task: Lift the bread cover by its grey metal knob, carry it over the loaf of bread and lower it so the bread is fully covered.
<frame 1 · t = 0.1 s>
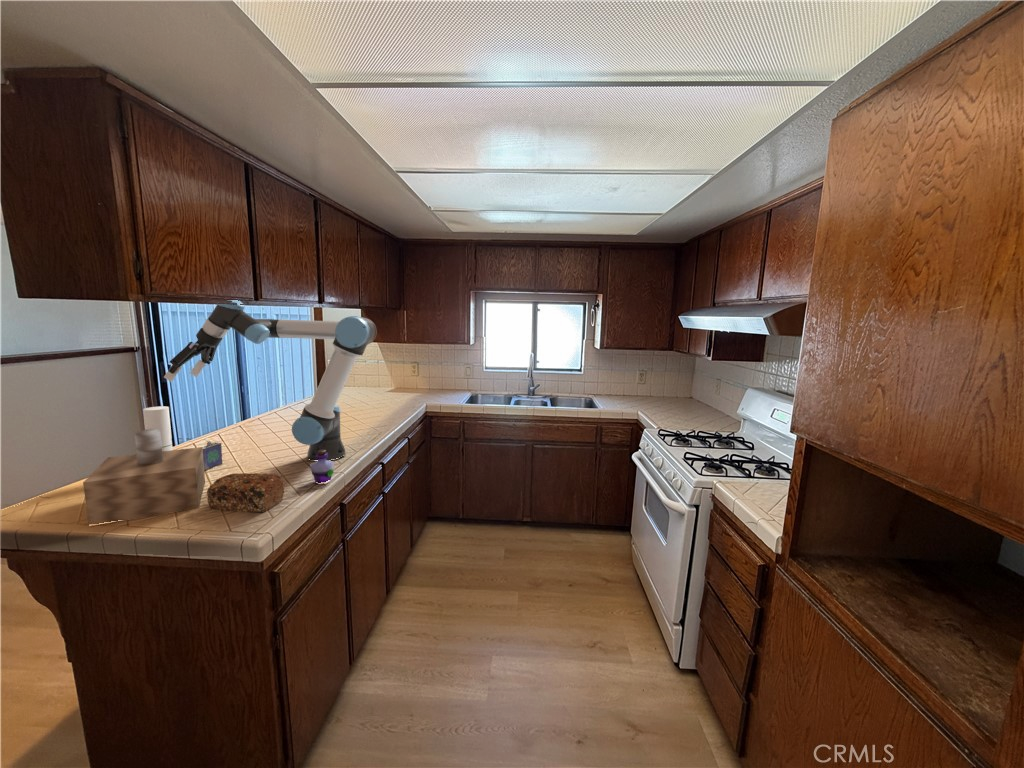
hand: (181, 377, 153), 36 cm above the counter, tool tilted 35°, fingers open, 13 cm apart
cylindrical container: (162, 473, 151), on the counter
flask: (211, 467, 158), on the counter
potion bottle: (322, 482, 147), on the counter
bread cover: (154, 501, 127), on the counter
bread: (247, 506, 127), on the counter
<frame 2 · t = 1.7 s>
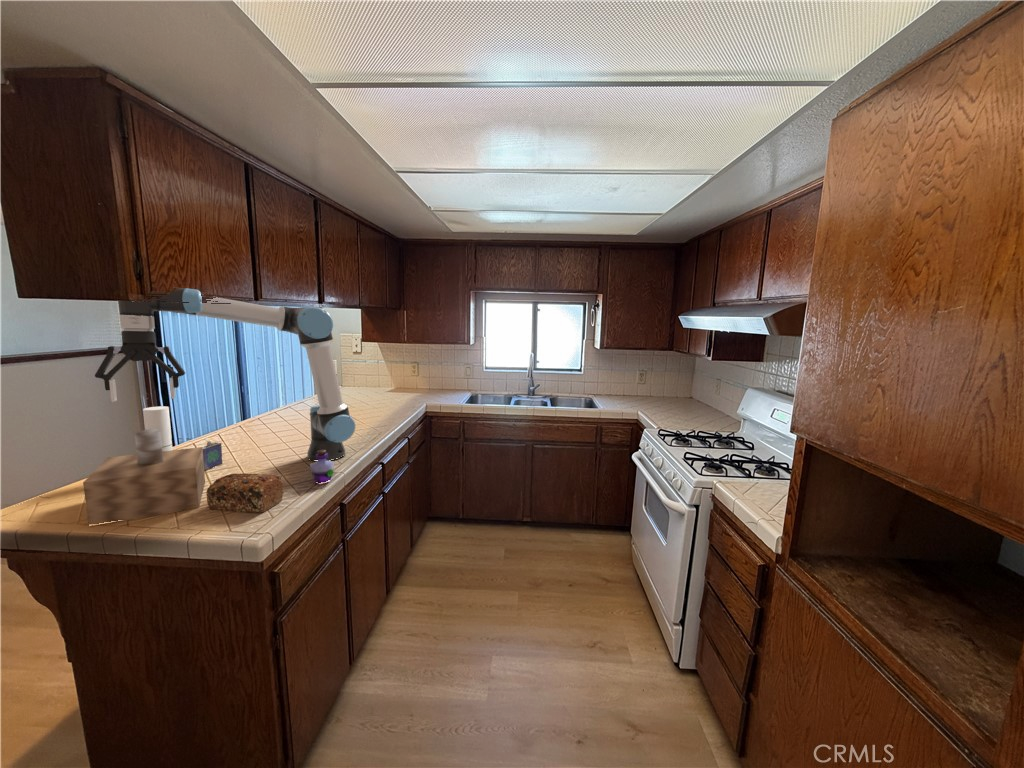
hand: (144, 399, 123), 33 cm above the counter, tool pointing down, fingers open, 13 cm apart
nothing on the counter moved.
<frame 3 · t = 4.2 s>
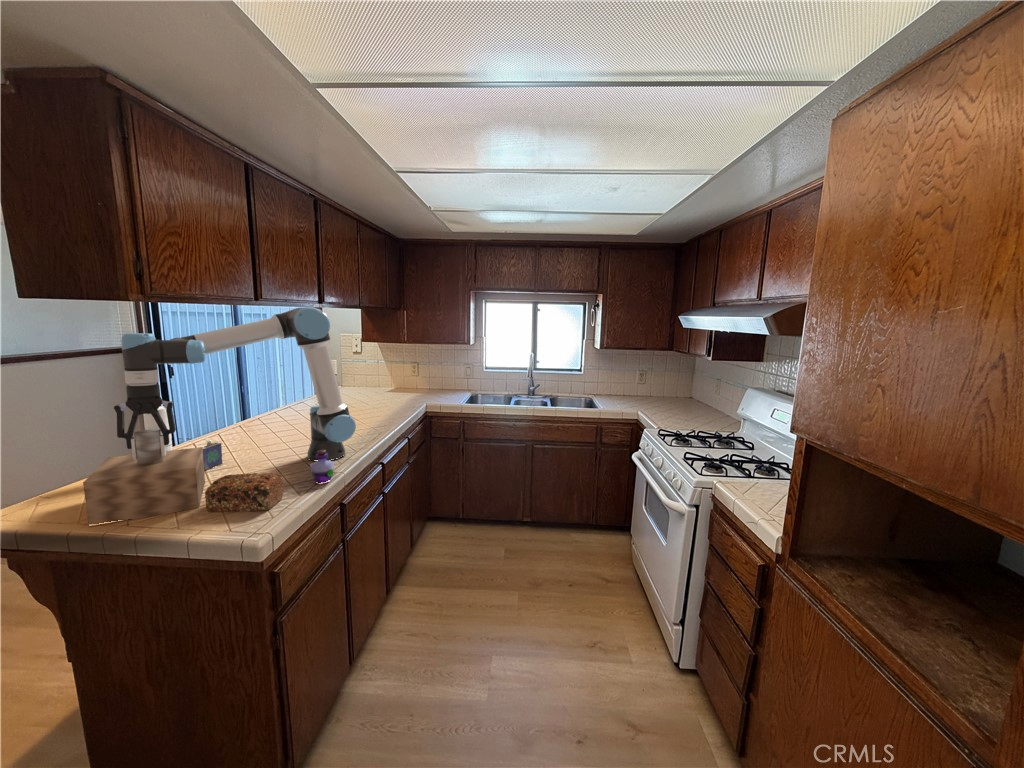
hand: (150, 456, 125), 15 cm above the counter, tool pointing down, fingers closed on bread cover, 6 cm apart
bread cover: (154, 501, 127), on the counter, touching gripper
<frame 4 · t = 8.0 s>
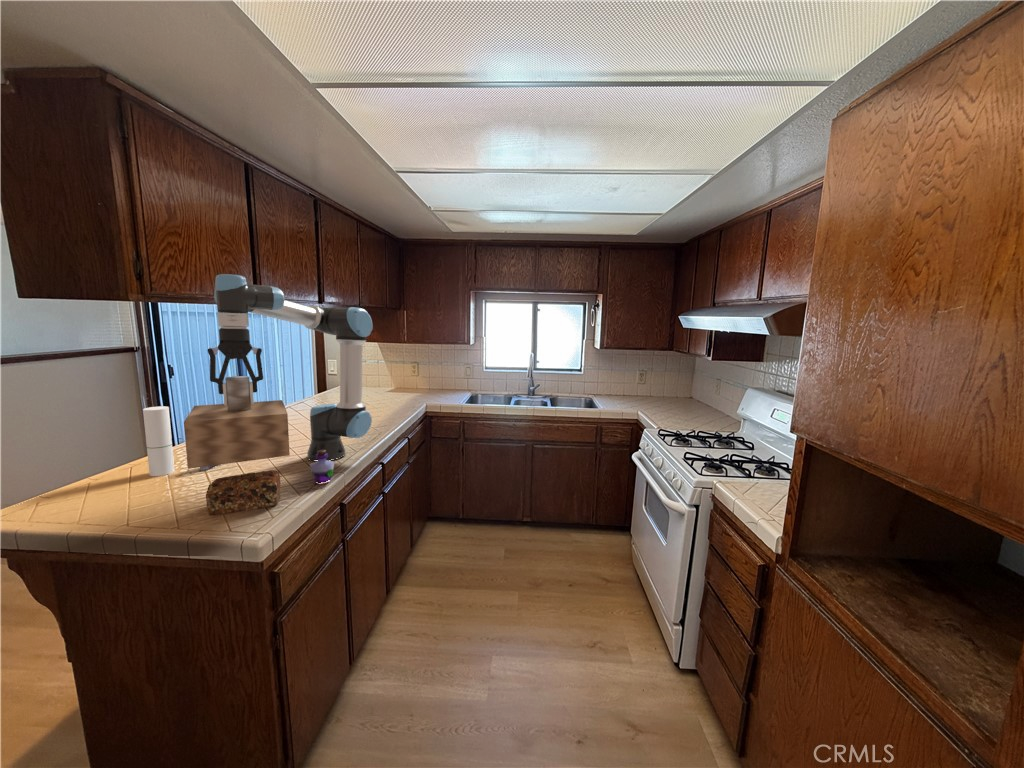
hand: (239, 403, 123), 33 cm above the counter, tool pointing down, fingers closed on bread cover, 6 cm apart
bread cover: (242, 450, 125), point 18 cm above the counter, touching gripper
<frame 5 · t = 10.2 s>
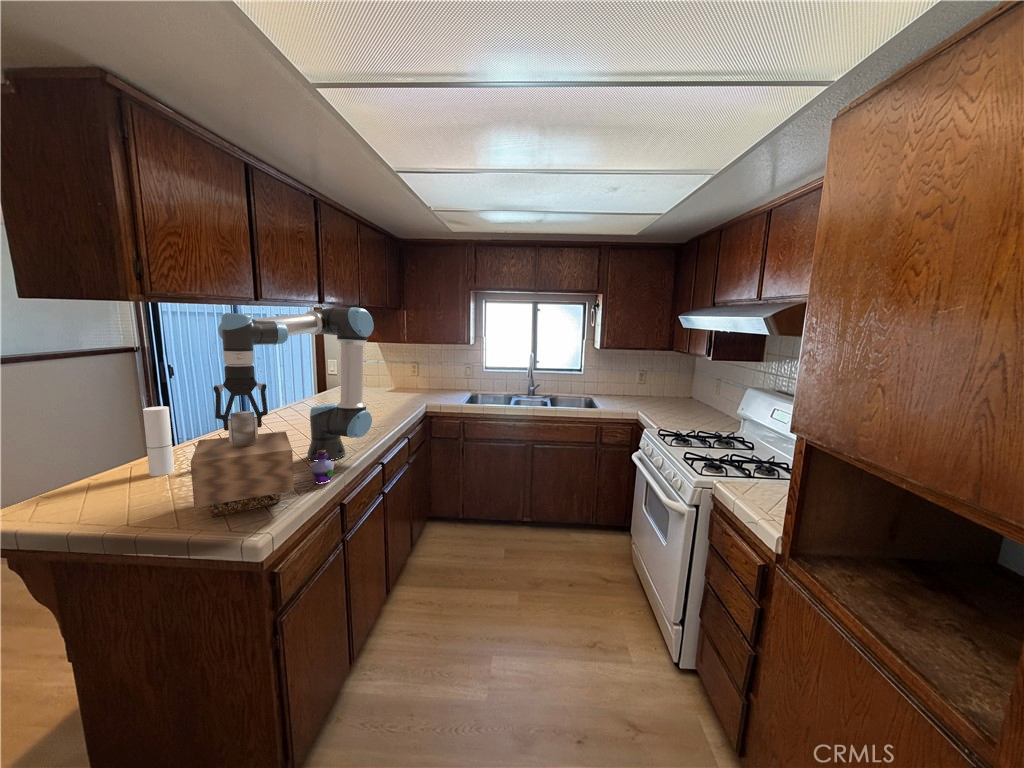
hand: (243, 438, 124), 22 cm above the counter, tool pointing down, fingers closed on bread cover, 6 cm apart
bread cover: (246, 484, 126), point 7 cm above the counter, touching gripper
when the fingers open (16 cm above the counter, at t = 12.0 s): bread cover drops 1 cm, on the counter.
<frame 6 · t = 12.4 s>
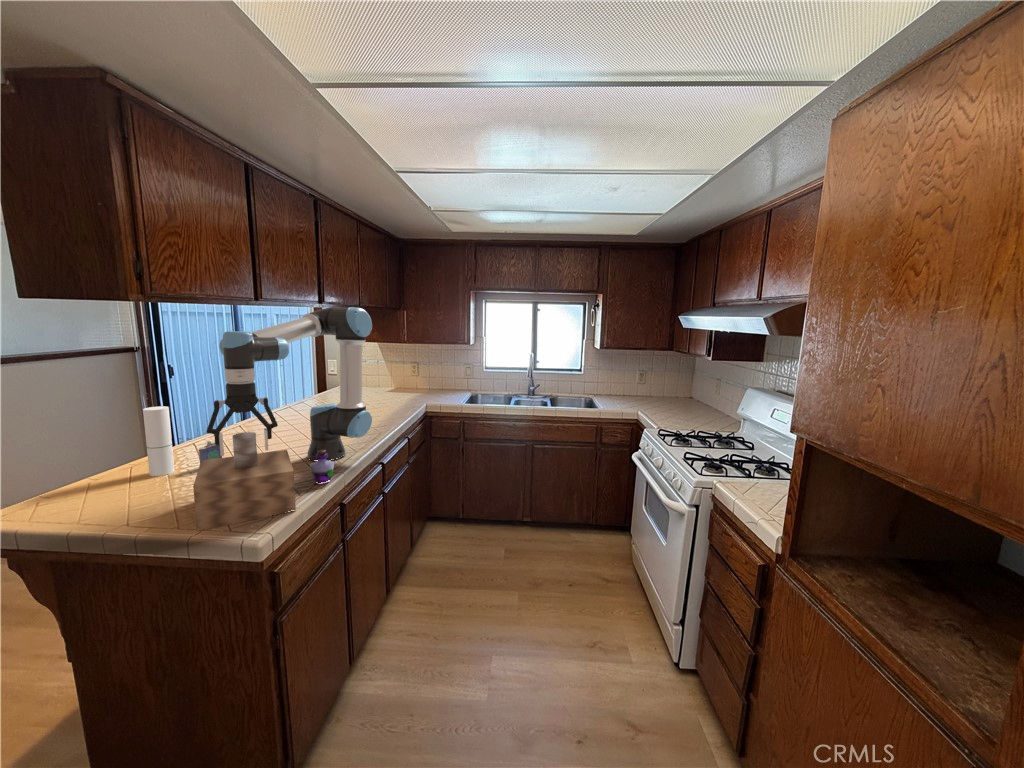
hand: (245, 451, 125), 17 cm above the counter, tool pointing down, fingers open, 11 cm apart
bread cover: (248, 504, 127), on the counter
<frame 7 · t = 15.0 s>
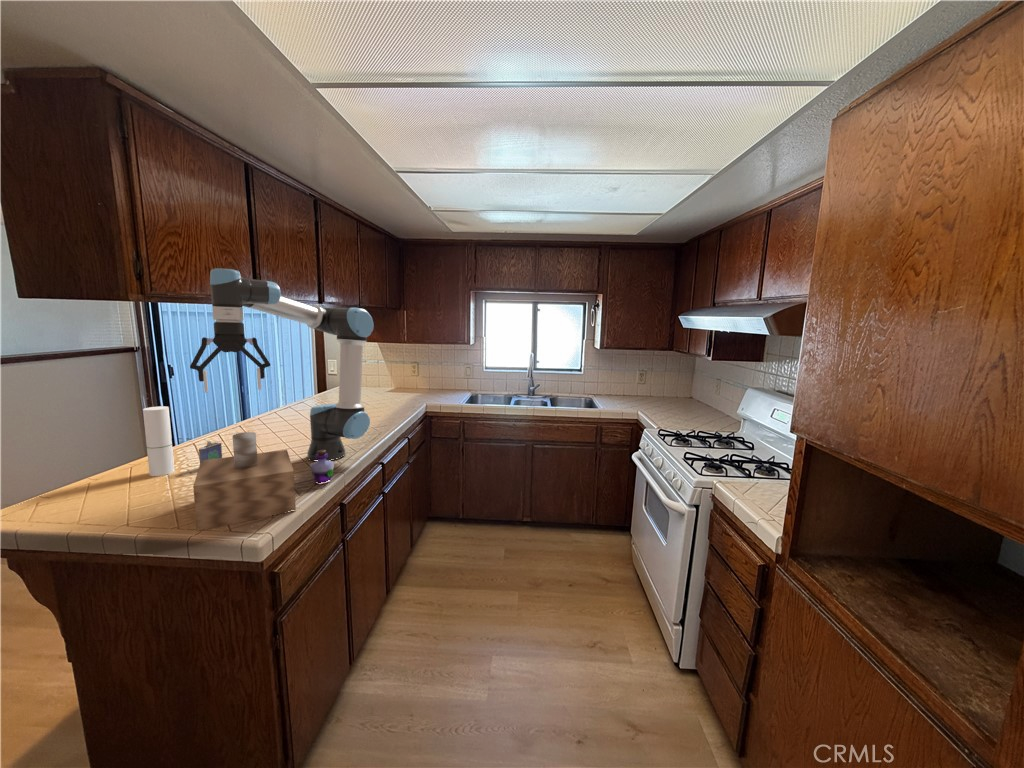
hand: (233, 390, 124), 36 cm above the counter, tool pointing down, fingers open, 13 cm apart
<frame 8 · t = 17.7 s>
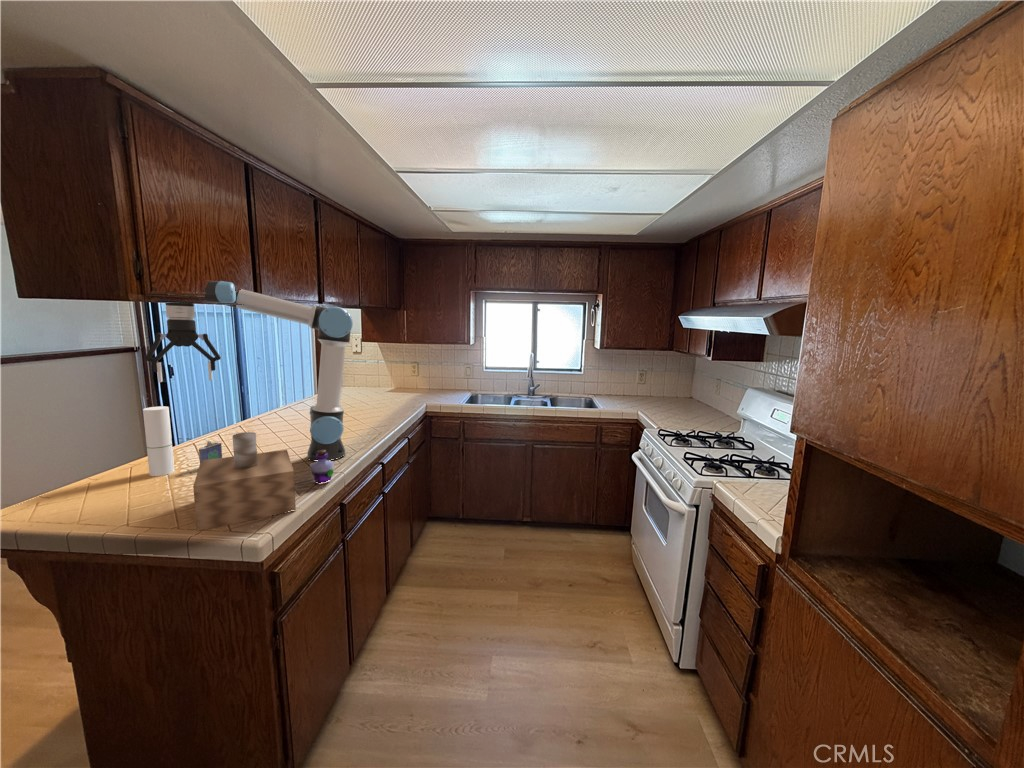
hand: (186, 380, 139), 37 cm above the counter, tool pointing down, fingers open, 13 cm apart
at the end: bread cover 1.2 cm from the bread (horizontally); bread cover on the counter; bread cover tilted 0° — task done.
